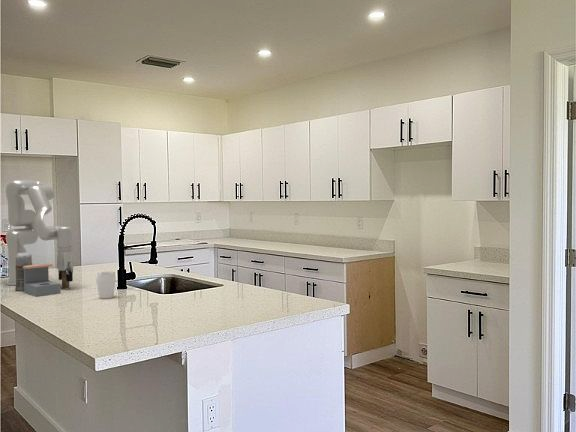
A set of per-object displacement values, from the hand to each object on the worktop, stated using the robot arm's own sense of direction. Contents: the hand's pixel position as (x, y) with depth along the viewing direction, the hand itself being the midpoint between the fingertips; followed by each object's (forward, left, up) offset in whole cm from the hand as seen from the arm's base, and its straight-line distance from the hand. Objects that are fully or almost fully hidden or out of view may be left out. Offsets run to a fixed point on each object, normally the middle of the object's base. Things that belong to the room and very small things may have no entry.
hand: (65, 280), depth 280 cm
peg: (0, 0, -4) cm, 4 cm away
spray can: (-12, -17, -5) cm, 21 cm away
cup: (+40, +3, -5) cm, 40 cm away
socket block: (+4, -14, -4) cm, 15 cm away
